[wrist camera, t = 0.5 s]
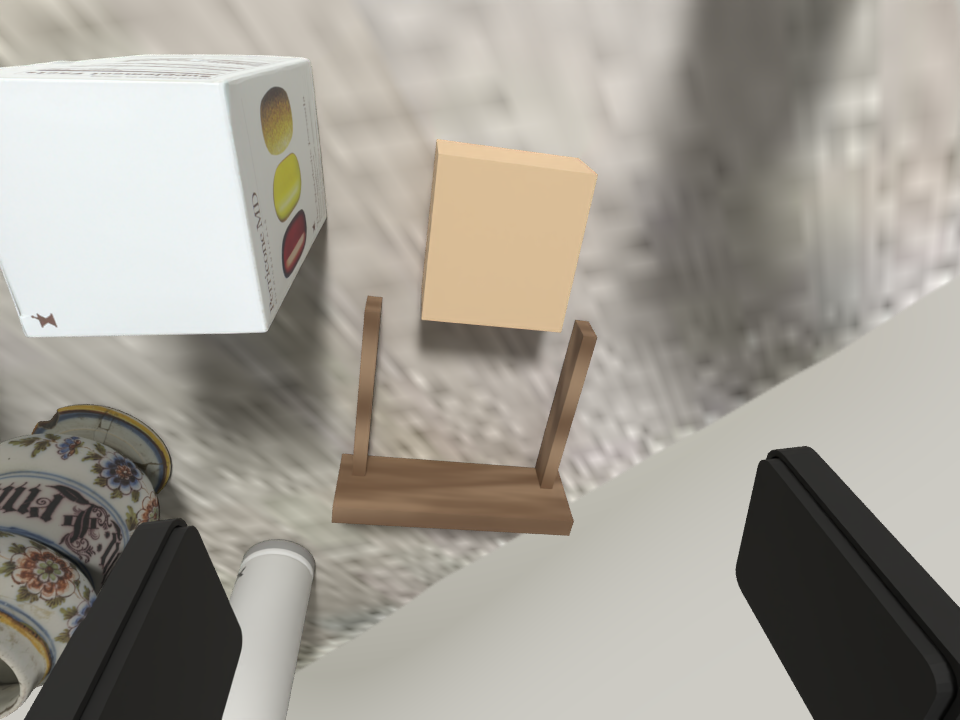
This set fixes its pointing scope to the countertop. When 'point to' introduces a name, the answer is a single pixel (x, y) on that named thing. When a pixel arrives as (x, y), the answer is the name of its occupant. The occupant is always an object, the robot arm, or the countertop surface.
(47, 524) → the apothecary jar
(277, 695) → the travel mug
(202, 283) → the supplement box
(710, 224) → the countertop surface
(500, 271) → the kraft carton
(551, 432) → the stand
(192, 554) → the robot arm
